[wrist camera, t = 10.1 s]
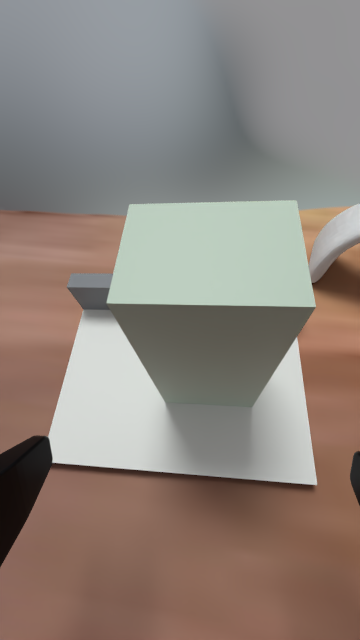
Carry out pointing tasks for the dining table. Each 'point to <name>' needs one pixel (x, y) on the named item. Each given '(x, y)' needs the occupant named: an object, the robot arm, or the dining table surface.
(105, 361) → the white plate with rail
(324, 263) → the spoon rest
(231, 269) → the green carton
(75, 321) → the dining table surface
